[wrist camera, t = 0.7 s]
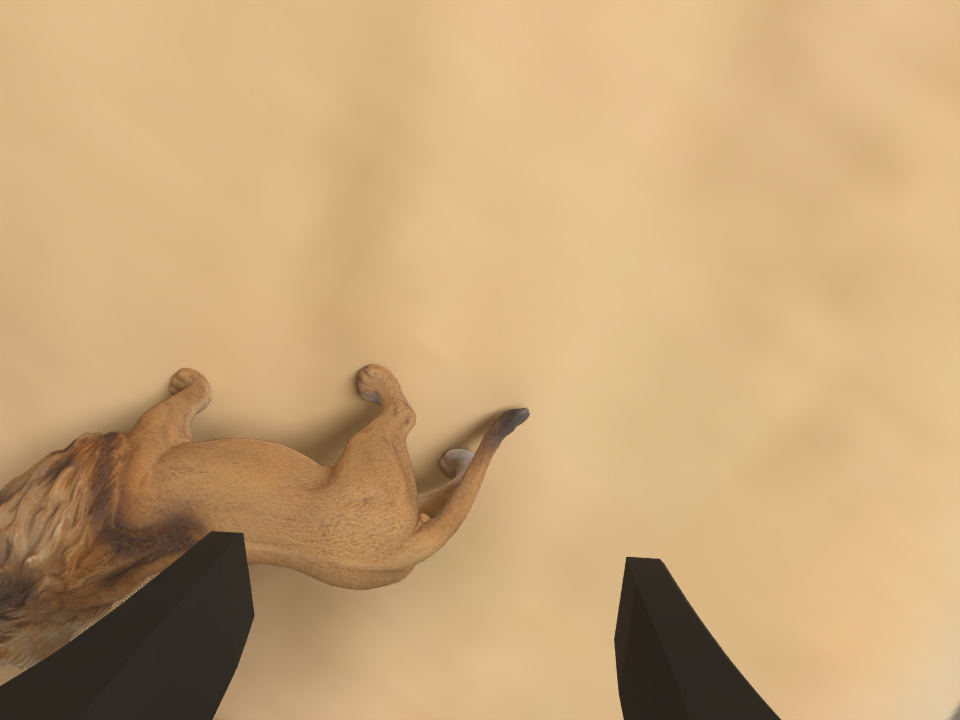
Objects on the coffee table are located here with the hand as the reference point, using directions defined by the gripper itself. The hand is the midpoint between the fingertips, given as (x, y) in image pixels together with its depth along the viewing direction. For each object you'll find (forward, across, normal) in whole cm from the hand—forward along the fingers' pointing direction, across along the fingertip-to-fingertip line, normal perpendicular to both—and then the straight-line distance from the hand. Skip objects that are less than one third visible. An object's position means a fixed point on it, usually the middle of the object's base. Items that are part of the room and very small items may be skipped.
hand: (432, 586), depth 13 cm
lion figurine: (+10, +6, +3) cm, 12 cm away
